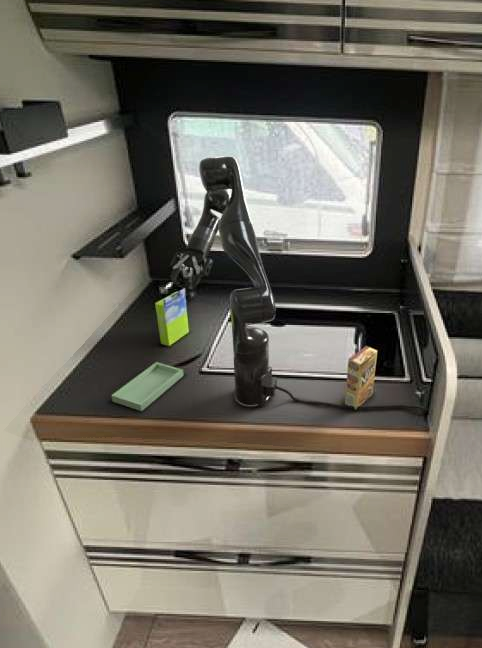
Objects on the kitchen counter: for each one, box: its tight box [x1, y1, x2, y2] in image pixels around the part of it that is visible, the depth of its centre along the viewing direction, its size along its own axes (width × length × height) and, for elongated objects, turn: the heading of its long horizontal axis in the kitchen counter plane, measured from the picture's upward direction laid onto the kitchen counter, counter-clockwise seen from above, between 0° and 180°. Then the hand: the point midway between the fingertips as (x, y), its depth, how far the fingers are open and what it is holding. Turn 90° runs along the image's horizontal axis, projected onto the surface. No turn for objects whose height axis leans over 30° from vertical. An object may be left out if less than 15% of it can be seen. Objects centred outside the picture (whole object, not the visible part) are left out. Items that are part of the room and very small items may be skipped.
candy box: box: [344, 345, 378, 410], centre depth 111 cm, size 9×4×15 cm, turn 144°
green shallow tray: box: [111, 361, 185, 412], centre depth 112 cm, size 10×17×2 cm, turn 161°
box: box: [154, 287, 190, 347], centre depth 132 cm, size 10×4×17 cm, turn 161°
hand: (182, 283), depth 134 cm, fingers open, 8 cm apart
